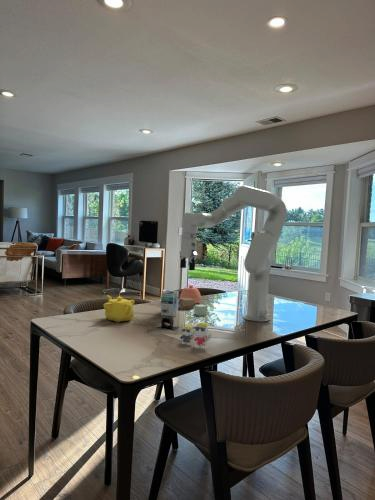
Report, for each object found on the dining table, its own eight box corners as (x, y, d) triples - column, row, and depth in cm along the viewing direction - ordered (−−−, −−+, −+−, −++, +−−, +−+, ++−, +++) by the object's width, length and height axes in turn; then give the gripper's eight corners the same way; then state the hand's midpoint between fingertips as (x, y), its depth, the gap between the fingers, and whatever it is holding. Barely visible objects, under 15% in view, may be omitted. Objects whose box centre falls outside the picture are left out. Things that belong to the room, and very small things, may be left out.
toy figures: (177, 342, 130) (178, 320, 129) (184, 340, 133) (185, 318, 133) (206, 350, 123) (207, 326, 123) (212, 347, 127) (213, 323, 126)
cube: (206, 315, 176) (207, 306, 175) (198, 315, 174) (199, 306, 173) (202, 313, 180) (202, 304, 179) (194, 313, 178) (194, 304, 177)
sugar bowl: (178, 304, 198) (179, 286, 197) (180, 300, 212) (181, 282, 211) (201, 305, 197) (201, 287, 197) (200, 301, 211) (201, 283, 211)
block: (193, 309, 189) (194, 299, 188) (183, 309, 186) (184, 300, 185) (188, 306, 194) (188, 297, 194) (178, 307, 191) (178, 298, 191)
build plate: (149, 328, 149) (150, 317, 149) (158, 324, 156) (158, 314, 156) (176, 332, 144) (177, 321, 144) (184, 328, 151) (184, 318, 151)
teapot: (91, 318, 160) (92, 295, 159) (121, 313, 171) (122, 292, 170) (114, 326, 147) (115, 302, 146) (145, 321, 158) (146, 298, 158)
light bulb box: (174, 316, 169) (175, 294, 169) (160, 315, 170) (161, 293, 170) (178, 311, 180) (179, 290, 179) (165, 310, 181) (166, 289, 181)
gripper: (203, 237, 182) (201, 271, 183) (187, 236, 197) (185, 267, 198) (190, 236, 179) (188, 271, 180) (175, 235, 194) (173, 267, 195)
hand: (187, 268), depth 189 cm, fingers open, 9 cm apart
